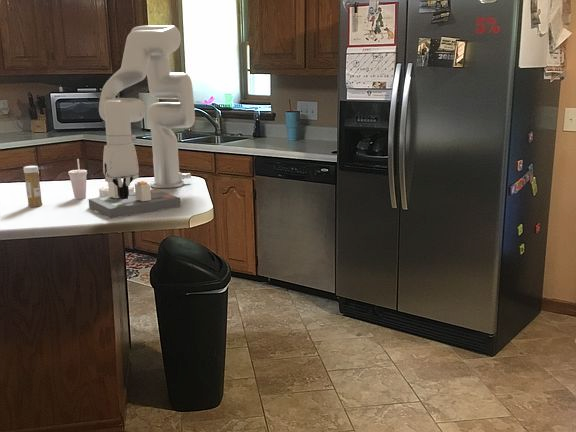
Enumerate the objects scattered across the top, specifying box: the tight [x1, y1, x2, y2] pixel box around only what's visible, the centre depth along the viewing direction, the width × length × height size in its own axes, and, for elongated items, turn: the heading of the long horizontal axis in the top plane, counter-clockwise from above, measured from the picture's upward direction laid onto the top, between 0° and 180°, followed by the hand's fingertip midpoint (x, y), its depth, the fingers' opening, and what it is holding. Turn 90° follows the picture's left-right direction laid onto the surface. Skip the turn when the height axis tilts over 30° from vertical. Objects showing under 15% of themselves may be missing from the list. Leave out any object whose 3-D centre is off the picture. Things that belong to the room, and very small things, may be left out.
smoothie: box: [67, 158, 88, 200], centre depth 218 cm, size 6×6×14 cm
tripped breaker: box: [134, 180, 151, 201], centre depth 200 cm, size 3×5×6 cm, turn 37°
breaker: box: [107, 181, 123, 198], centre depth 205 cm, size 3×5×5 cm, turn 37°
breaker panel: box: [88, 188, 181, 219], centre depth 204 cm, size 24×18×3 cm
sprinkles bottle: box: [22, 165, 43, 208], centre depth 207 cm, size 5×5×13 cm
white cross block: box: [98, 184, 135, 197], centre depth 223 cm, size 12×12×4 cm
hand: (123, 198), depth 196 cm, fingers closed
